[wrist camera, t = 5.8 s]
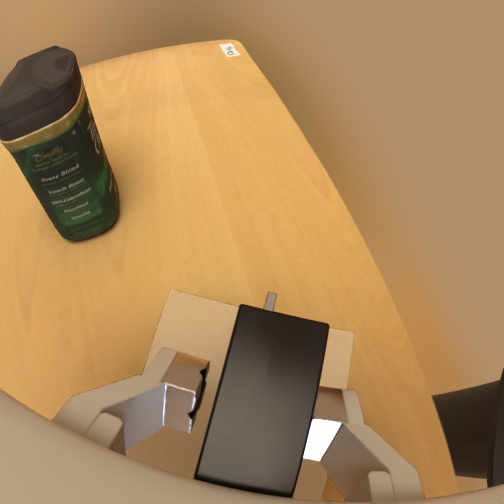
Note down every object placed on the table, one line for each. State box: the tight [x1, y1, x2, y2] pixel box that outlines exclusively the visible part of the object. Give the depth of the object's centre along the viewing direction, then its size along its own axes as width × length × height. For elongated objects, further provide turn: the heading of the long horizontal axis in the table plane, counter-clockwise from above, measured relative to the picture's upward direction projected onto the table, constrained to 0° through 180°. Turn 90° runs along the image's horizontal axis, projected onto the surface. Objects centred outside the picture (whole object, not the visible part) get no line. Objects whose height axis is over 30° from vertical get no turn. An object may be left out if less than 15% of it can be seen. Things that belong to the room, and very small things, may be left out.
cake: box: [126, 289, 355, 501], centre depth 20 cm, size 16×16×9 cm
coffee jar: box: [0, 46, 119, 241], centre depth 24 cm, size 10×8×19 cm
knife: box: [193, 292, 330, 498], centre depth 11 cm, size 10×2×13 cm, turn 167°
